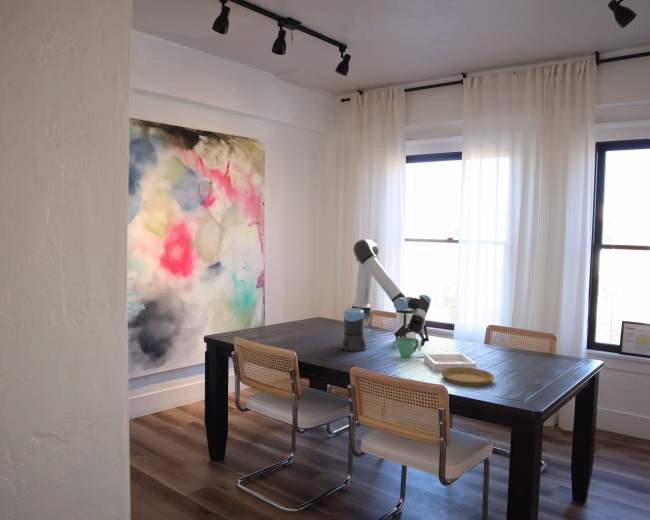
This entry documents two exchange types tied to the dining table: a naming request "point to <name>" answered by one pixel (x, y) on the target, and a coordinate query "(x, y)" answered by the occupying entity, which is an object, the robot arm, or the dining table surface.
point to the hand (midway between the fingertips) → (407, 348)
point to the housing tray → (448, 361)
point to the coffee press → (404, 321)
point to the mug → (407, 346)
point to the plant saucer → (467, 376)
